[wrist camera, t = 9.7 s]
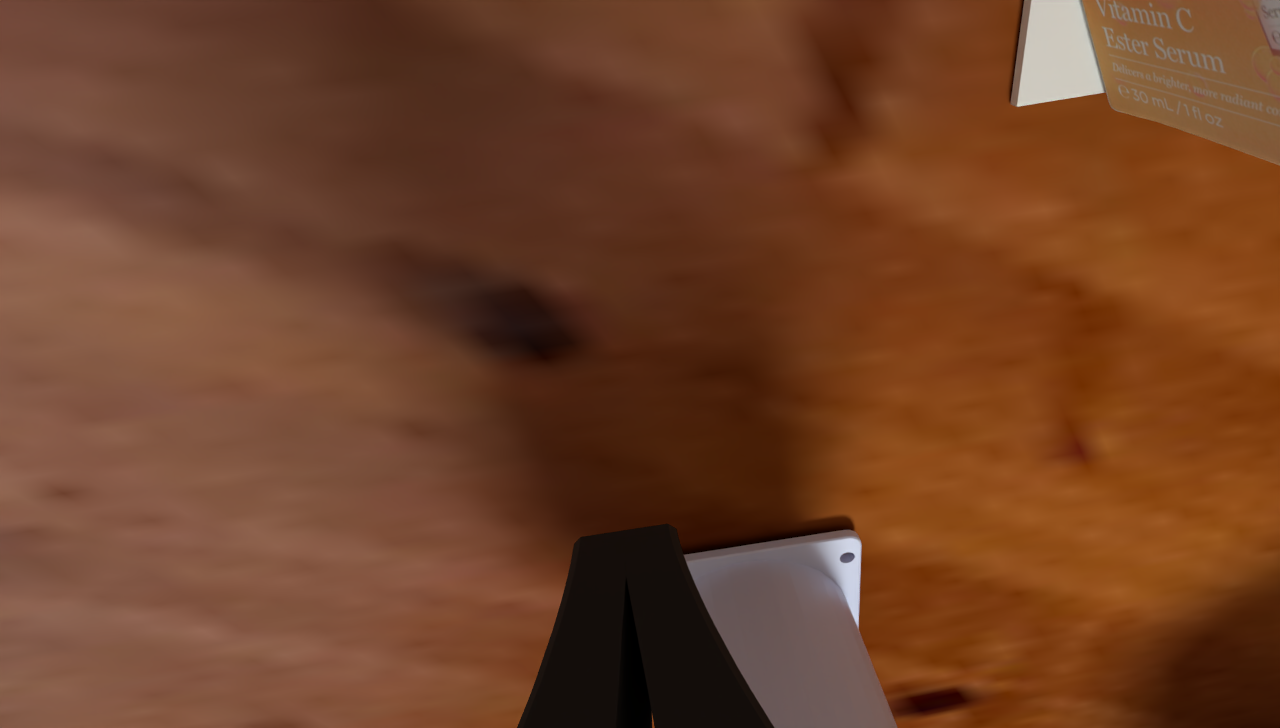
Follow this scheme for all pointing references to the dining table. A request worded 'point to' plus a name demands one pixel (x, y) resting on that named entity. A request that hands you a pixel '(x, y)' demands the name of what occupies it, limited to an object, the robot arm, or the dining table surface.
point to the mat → (1055, 54)
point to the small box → (1194, 66)
